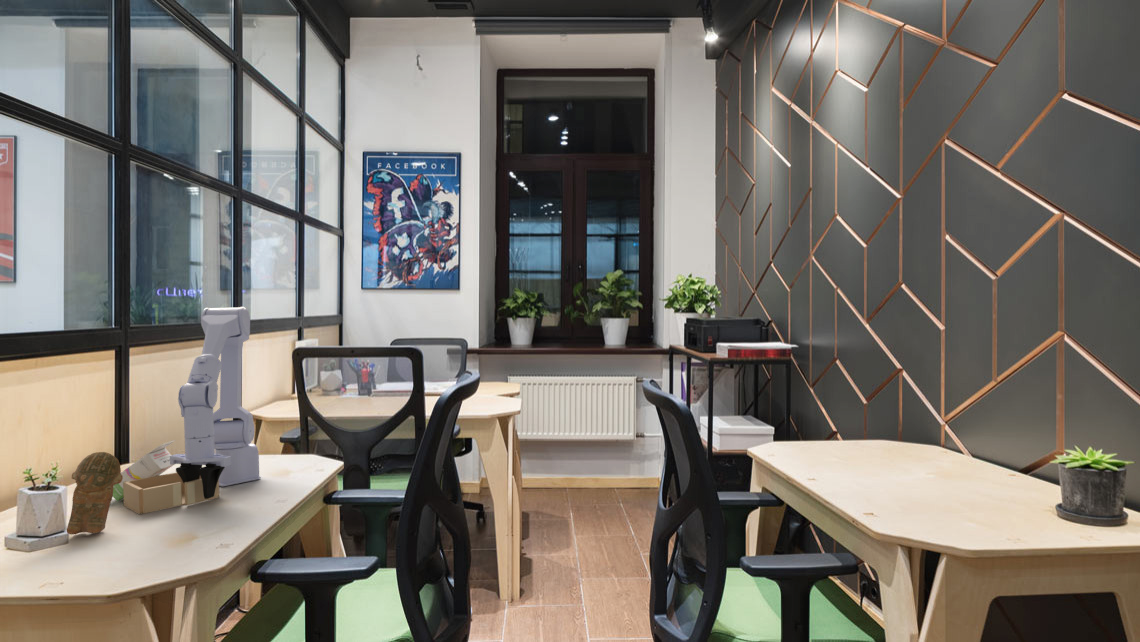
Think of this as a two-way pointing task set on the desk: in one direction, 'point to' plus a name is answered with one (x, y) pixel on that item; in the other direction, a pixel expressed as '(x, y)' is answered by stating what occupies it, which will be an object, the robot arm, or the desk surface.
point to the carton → (134, 487)
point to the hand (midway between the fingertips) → (201, 497)
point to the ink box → (145, 468)
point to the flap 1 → (162, 497)
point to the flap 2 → (197, 492)
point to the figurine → (93, 492)
